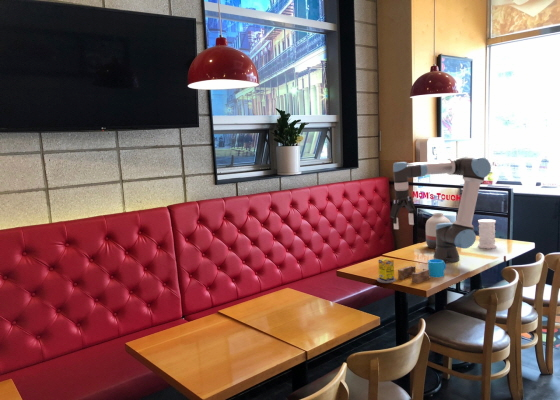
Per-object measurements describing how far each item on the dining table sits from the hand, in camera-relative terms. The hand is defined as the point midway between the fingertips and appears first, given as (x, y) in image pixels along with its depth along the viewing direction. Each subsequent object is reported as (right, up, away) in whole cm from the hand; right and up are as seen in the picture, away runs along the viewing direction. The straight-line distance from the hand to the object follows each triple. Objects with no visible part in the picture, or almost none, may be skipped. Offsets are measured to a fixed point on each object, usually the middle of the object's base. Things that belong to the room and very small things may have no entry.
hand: (404, 226), depth 251 cm
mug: (+18, -27, -4) cm, 32 cm away
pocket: (+3, -28, -9) cm, 29 cm away
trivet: (-12, -29, -8) cm, 32 cm away
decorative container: (+71, -17, +50) cm, 88 cm away
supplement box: (-12, -28, -8) cm, 32 cm away
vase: (+40, -18, +57) cm, 72 cm away
